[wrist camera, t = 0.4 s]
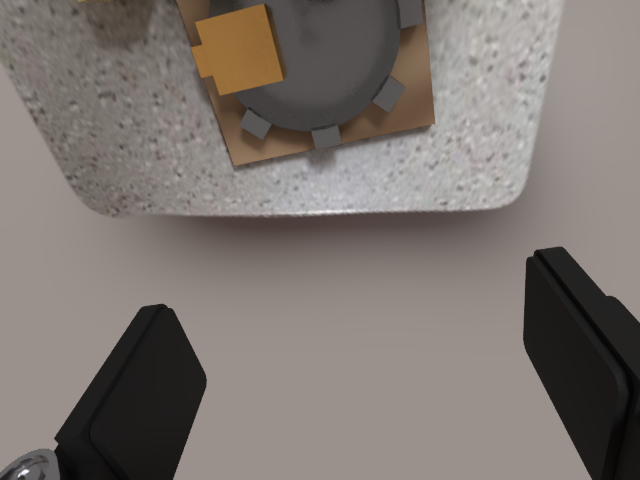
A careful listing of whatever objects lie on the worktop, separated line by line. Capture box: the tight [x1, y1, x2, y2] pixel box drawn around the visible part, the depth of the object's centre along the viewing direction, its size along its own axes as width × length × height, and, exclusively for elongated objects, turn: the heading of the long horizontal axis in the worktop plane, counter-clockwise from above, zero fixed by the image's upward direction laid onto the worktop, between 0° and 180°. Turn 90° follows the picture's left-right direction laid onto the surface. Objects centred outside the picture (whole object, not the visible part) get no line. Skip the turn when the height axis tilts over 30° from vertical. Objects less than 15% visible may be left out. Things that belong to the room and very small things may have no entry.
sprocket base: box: [176, 0, 435, 166], centre depth 32 cm, size 18×18×1 cm
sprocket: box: [191, 0, 423, 150], centre depth 28 cm, size 17×17×8 cm
